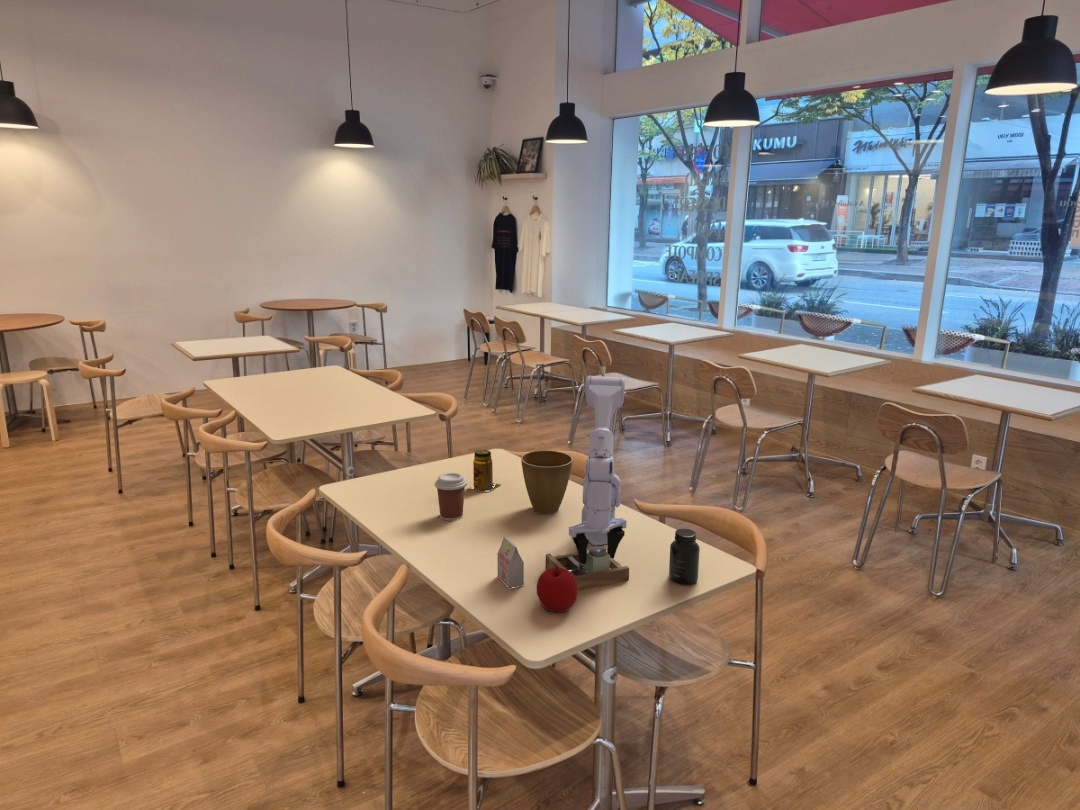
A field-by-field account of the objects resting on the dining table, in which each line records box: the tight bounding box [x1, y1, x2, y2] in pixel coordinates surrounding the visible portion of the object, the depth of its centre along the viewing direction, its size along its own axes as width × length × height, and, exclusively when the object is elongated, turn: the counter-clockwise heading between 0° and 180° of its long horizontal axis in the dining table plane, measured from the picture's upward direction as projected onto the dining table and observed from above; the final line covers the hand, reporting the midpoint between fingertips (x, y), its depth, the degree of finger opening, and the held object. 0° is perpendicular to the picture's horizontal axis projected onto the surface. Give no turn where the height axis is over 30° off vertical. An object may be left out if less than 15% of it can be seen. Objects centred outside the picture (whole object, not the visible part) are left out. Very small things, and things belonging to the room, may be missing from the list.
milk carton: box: [496, 536, 525, 589], centre depth 170 cm, size 4×7×10 cm, turn 26°
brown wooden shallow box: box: [544, 547, 630, 591], centre depth 175 cm, size 12×16×4 cm
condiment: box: [468, 449, 502, 493], centre depth 231 cm, size 7×8×12 cm
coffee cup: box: [434, 472, 468, 522], centre depth 208 cm, size 9×9×12 cm
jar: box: [583, 545, 610, 573], centre depth 175 cm, size 4×4×6 cm
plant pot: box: [520, 449, 574, 515], centre depth 213 cm, size 15×15×16 cm
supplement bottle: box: [668, 528, 701, 586], centre depth 172 cm, size 7×7×12 cm
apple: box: [536, 567, 579, 613], centre depth 159 cm, size 9×9×10 cm
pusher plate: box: [566, 556, 590, 576], centre depth 173 cm, size 9×5×3 cm, turn 24°
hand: (596, 559), depth 175 cm, fingers open, 7 cm apart
